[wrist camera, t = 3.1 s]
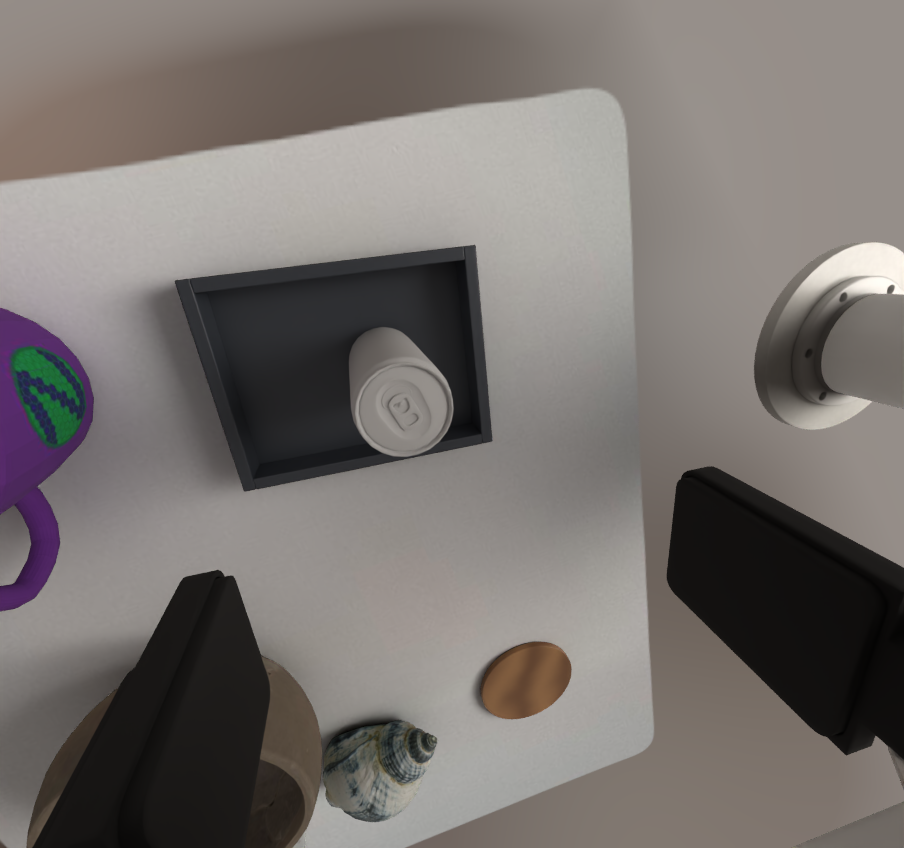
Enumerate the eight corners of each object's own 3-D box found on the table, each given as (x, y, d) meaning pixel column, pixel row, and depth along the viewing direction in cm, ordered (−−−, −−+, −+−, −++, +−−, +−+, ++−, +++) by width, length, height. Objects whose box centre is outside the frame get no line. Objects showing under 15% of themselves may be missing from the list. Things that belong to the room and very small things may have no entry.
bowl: (324, 750, 42) (319, 884, 33) (114, 785, 38) (40, 949, 29) (325, 609, 37) (319, 721, 28) (80, 629, 33) (-24, 771, 23)
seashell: (313, 729, 43) (429, 690, 45) (330, 804, 43) (447, 762, 44) (298, 775, 37) (434, 728, 38) (319, 864, 37) (455, 812, 38)
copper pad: (568, 630, 45) (571, 635, 44) (569, 697, 48) (572, 702, 48) (475, 657, 43) (477, 662, 42) (484, 725, 47) (486, 730, 46)
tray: (464, 247, 30) (475, 244, 27) (481, 428, 35) (492, 441, 32) (190, 279, 27) (173, 280, 24) (252, 473, 32) (243, 492, 29)
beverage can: (394, 312, 30) (423, 338, 19) (429, 370, 32) (474, 425, 21) (334, 348, 30) (329, 396, 19) (372, 405, 32) (388, 478, 21)
